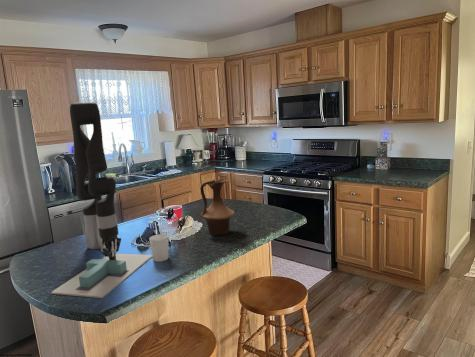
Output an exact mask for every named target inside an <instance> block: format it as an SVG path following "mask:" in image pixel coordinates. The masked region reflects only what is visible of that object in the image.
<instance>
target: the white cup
mask: <svg viewBox="0 0 475 357" xmlns="http://www.w3.org/2000/svg"><path fill="white" fill-rule="evenodd" d="M168 238H169V236H168V235H167V234H164V233H161V234H155V235H152V236H150V237H149V238H148V239H149V246H150V251H151V255H152V256H153V257H152V260H153V261H154V262H156V263H157V262H158V263H160V262H165V261H167V260H168V259H169V239H168Z"/></svg>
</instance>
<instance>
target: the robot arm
mask: <svg viewBox="0 0 475 357" xmlns="http://www.w3.org/2000/svg"><path fill="white" fill-rule="evenodd" d="M69 115H70V123H71V128H72V137H73V154H74V164H75V176H76V177H75V182H76V183H75V185H76V186H75V190H76V192H75V193H76V196H77V199H78V200H79V201H81V202H82V201H83V202H84V201H85V202H86V201H91V200H93V201H92V202H91V203H90V204H89V205H86V206H84V207H83V209H82V214H83V219H84V227H85V228H84V229H83V232H84V239H85V245H86V248H87V249H90V250H99V252H100V253H101V254H102V255H103V257H109V260H116V253H117V252H118V253H119V250H120V246H121V242H122V238H121V237H118V235H119V227H118V226H119V225H118V219H117V215H116V209H115V196H116V195H115V194H116V187H117V184H116V179H115V178H114V177H112V176H110V175H108V176H101V177H97V175H98V174H101V173H103V172H104V173H105V172H106V171H107V170H108V165H107V164H108V163H107V159H106V155H105V150H104V142H103V131H102V123H101V122H102V121H101V114H100V109H99V105H98V104H97V102H95V101H87V102H86V101H82V102H80V101H79V102H73V103H72V102H71V104H70V106H69ZM85 125H87V126H88V125H92V126H93V127H92V128H93V129H92V131H93V132H92V135H91V137H90V138H89V137H88V136H87V135H86V134H85V133H84V131H83V130H82V128H81V126H85ZM87 177H88V180H86V178H87ZM103 195H106V196H105V197H104V198H102V196H103Z"/></svg>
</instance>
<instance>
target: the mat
mask: <svg viewBox="0 0 475 357" xmlns="http://www.w3.org/2000/svg"><path fill="white" fill-rule="evenodd" d="M101 259H102V260H109V257H105V256H103V258H101ZM151 259H153V256H152V254H135V253H133V254H132V253H117V252H116V260H121V261H126V267H127V270H126V271H125V272H123V273H122V274H111V273H108V274H107V275H106V276H104V277H103V278H102V279H100V280H99V281H97V282H96V283H95V284H93V285H92V286H91V287H80V282H79V277H80V276H81V275H83V274H84V273H85V272H87V268H85V269H84V270H83V271H81V272H79V273H78V274H77V275H75V276H74V277H72V278H70V279H69V280H67V281H66V282H64V283H63V284H62V285H60V286H58V287H57V288H55V289H54V290H52V291H51V292H50V294H52V295H61V296H62V295H64V296H71V297H72V296H73V297H74V296H75V297H83V298H94V299H95V298H96V299H103V298H105V297H106V296H107V295H108V294H109V293H111V292H112V291H114V289H116V287H118V286H119V285H120V284H121V283H123V282H124V281H125V280H127V279H128V278H129V277H131V275H132V274H134V273H135V272H136V271H137V270H138V269H139V267H140V268H141V267H142V266H143V265H145V264H146V263H147V262H148V261H149V260H151ZM145 262H146V263H145Z"/></svg>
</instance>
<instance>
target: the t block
mask: <svg viewBox="0 0 475 357" xmlns="http://www.w3.org/2000/svg"><path fill="white" fill-rule="evenodd" d="M85 265H86V269H87V272H85V273H84V274H83V275H81V276H80V277H79V282H80V287H91V286H92V285H93V284H95V283H96V282H97V281H99V280H100V279H102V278H103V277H104V276H106V275H107V274H108V273H111V274H122V273H123V272H125V271H126V270H127V267H126V261H121V260H102V258H101V259H100V258H99V259H98V258H91V259H90V260H88V261H87V262H85Z"/></svg>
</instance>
